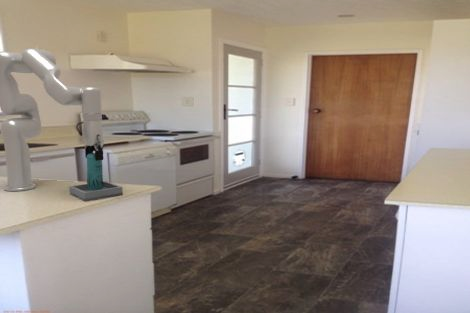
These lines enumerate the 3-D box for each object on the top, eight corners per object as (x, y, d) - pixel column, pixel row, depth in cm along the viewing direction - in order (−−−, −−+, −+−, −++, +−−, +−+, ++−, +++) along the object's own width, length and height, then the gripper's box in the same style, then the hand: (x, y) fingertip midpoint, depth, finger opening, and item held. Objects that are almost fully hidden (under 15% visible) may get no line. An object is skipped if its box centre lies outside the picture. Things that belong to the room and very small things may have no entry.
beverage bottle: (83, 193, 162) (82, 145, 159) (93, 189, 168) (91, 144, 165) (97, 194, 161) (96, 146, 158) (106, 191, 167) (105, 144, 164)
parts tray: (69, 194, 165) (69, 186, 164) (105, 188, 176) (105, 181, 175) (85, 201, 153) (84, 192, 153) (122, 194, 164) (122, 186, 164)
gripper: (74, 117, 164) (77, 157, 166) (92, 118, 151) (94, 162, 154) (92, 116, 169) (94, 155, 171) (110, 118, 156) (112, 160, 159)
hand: (94, 158), depth 162 cm, fingers open, 9 cm apart
